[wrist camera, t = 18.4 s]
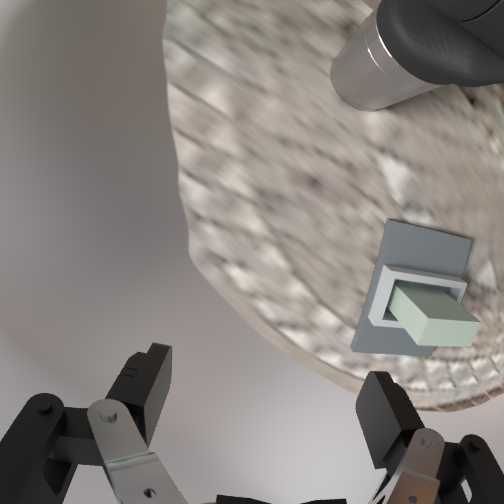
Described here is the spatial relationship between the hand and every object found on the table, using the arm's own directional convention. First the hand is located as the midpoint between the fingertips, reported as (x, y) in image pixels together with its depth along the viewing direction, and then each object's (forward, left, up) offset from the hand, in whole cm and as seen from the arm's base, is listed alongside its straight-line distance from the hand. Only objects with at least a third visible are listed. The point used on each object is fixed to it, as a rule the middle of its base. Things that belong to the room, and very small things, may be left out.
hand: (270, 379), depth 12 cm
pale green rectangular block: (+6, +24, -29) cm, 38 cm away
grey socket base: (+6, +24, -30) cm, 39 cm away
